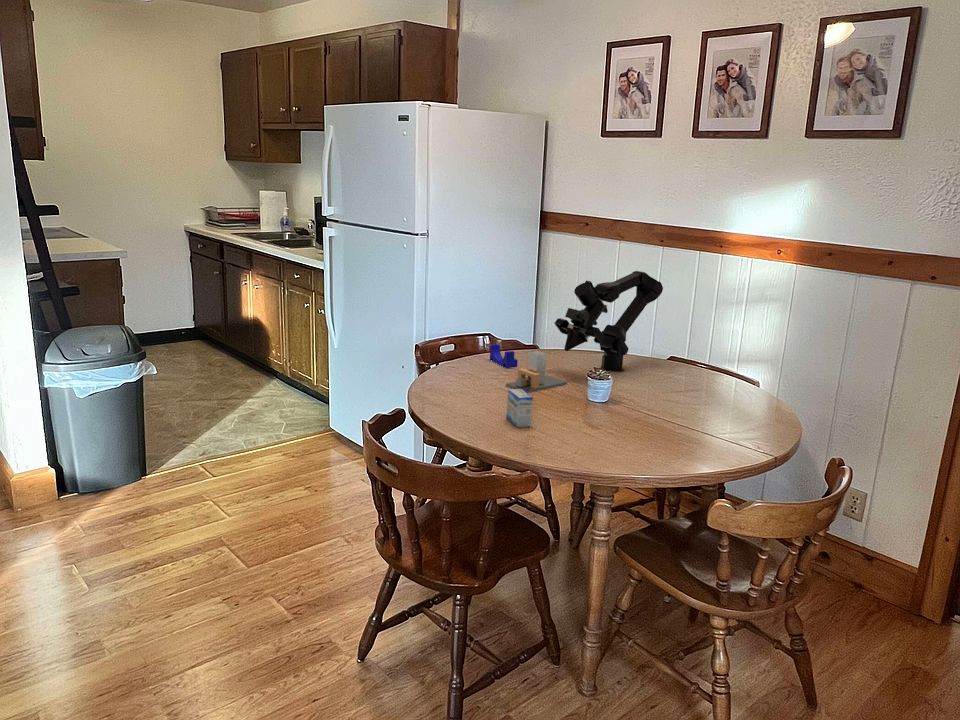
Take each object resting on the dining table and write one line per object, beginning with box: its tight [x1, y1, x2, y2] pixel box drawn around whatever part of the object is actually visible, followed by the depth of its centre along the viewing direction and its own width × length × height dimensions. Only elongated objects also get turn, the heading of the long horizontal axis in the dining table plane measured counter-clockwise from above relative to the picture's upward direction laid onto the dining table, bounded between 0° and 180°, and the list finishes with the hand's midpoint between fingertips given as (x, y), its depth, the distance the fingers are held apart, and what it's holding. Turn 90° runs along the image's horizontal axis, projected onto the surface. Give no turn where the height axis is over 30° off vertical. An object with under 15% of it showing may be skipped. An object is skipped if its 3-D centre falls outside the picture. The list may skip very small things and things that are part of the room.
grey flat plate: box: [505, 374, 568, 394], centre depth 245 cm, size 19×9×1 cm, turn 130°
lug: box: [517, 368, 540, 388], centre depth 242 cm, size 2×8×4 cm, turn 40°
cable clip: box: [489, 343, 518, 369], centre depth 269 cm, size 12×4×6 cm, turn 29°
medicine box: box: [505, 388, 534, 428], centre depth 208 cm, size 8×4×9 cm, turn 21°
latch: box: [515, 350, 548, 387], centre depth 241 cm, size 10×4×10 cm, turn 130°
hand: (565, 350), depth 250 cm, fingers closed
